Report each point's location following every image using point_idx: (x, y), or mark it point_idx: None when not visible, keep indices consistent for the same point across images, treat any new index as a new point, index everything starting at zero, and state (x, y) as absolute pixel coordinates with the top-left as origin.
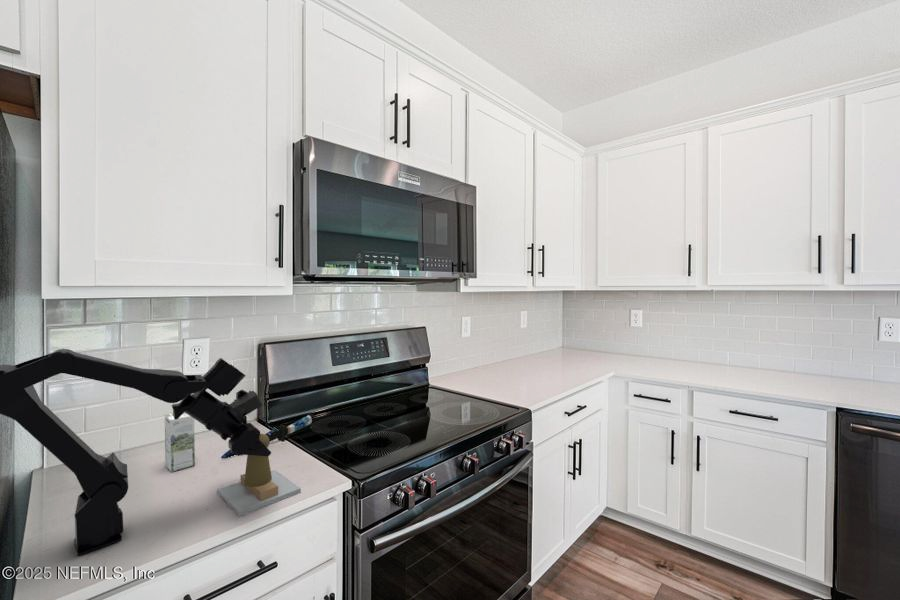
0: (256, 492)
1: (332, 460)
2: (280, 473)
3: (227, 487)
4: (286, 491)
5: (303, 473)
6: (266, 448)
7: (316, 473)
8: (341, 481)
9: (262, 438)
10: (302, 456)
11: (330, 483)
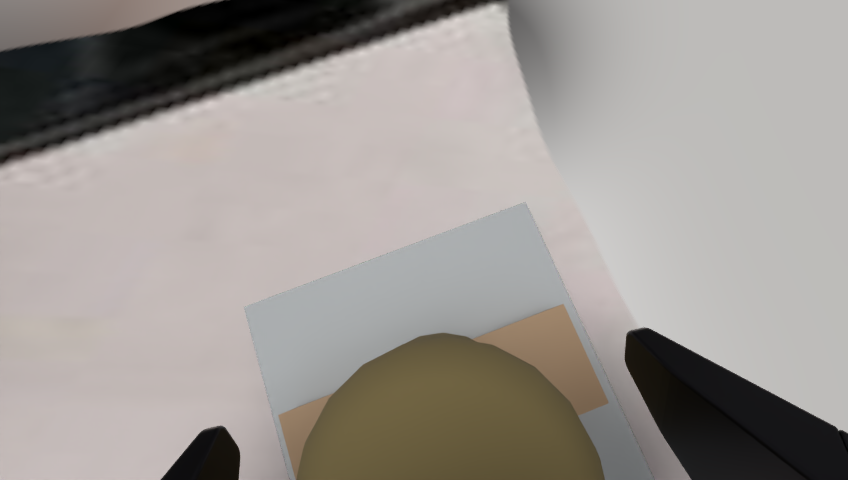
0: None
1: (252, 43)
2: (307, 283)
3: None
4: (533, 268)
5: (326, 178)
6: (743, 384)
7: (357, 124)
8: (490, 40)
9: (559, 442)
10: (119, 164)
11: (488, 82)
